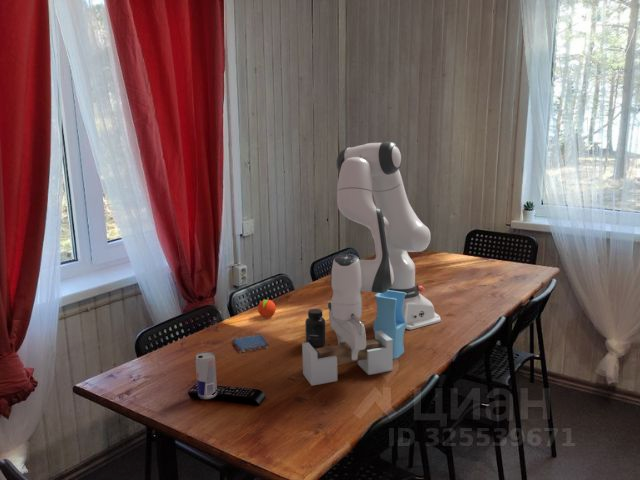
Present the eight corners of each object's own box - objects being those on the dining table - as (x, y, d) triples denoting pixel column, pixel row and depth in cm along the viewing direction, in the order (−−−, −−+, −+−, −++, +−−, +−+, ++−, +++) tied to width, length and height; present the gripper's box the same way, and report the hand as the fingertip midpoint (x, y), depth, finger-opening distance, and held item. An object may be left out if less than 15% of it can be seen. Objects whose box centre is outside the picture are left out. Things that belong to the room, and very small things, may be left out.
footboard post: (328, 369, 174) (327, 339, 172) (337, 380, 167) (336, 349, 164) (303, 374, 171) (302, 343, 169) (311, 385, 164) (310, 353, 162)
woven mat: (231, 343, 197) (231, 338, 196) (260, 338, 201) (260, 333, 200) (238, 355, 187) (238, 349, 187) (269, 349, 191) (269, 343, 191)
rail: (375, 352, 176) (375, 338, 175) (380, 356, 173) (380, 342, 172) (314, 363, 170) (314, 349, 169) (318, 367, 166) (318, 353, 165)
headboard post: (381, 359, 180) (381, 330, 178) (392, 370, 172) (392, 339, 170) (357, 364, 177) (357, 334, 175) (368, 374, 170) (368, 343, 168)
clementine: (272, 321, 215) (271, 303, 214) (255, 320, 217) (254, 303, 215) (278, 314, 223) (277, 297, 222) (261, 313, 224) (260, 296, 223)
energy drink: (199, 391, 163) (196, 352, 160) (218, 389, 163) (215, 351, 160) (197, 400, 157) (193, 360, 155) (216, 399, 158) (213, 359, 155)
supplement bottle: (311, 349, 189) (310, 315, 186) (302, 342, 195) (301, 309, 192) (329, 345, 192) (328, 312, 189) (320, 338, 198) (319, 306, 195)
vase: (395, 359, 180) (396, 299, 175) (373, 354, 184) (373, 295, 180) (405, 350, 186) (406, 292, 182) (384, 346, 190) (384, 289, 186)
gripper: (371, 319, 159) (371, 365, 162) (344, 297, 178) (344, 339, 181) (350, 322, 157) (351, 368, 160) (325, 300, 176) (326, 342, 179)
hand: (347, 352), depth 171 cm, fingers open, 8 cm apart
